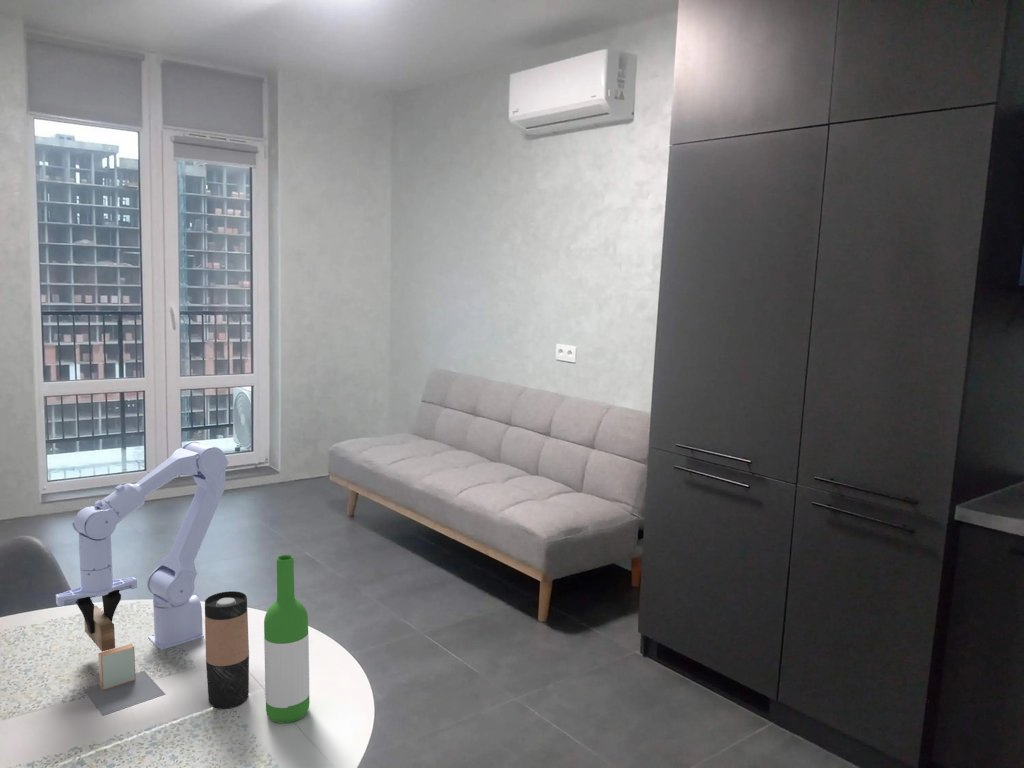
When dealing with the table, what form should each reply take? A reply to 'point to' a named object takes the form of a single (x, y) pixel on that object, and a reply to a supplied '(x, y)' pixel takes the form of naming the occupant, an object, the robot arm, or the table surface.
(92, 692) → the mat
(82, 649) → the table surface
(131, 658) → the block
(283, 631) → the wine bottle
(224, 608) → the travel mug
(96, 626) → the bar
